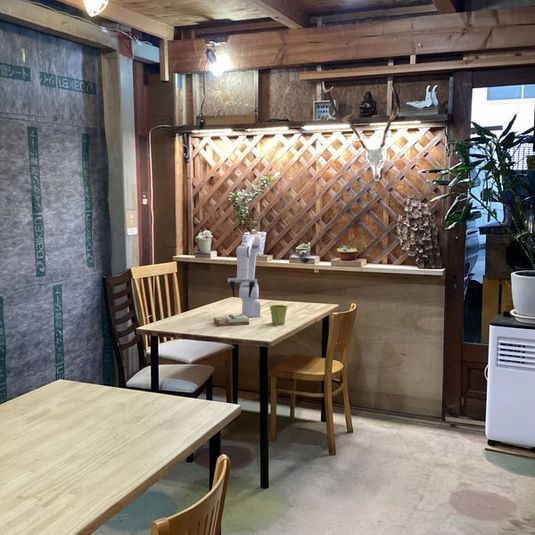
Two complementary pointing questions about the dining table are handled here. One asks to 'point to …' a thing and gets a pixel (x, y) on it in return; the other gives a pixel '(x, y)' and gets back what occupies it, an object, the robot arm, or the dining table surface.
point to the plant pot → (278, 313)
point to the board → (224, 322)
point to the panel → (237, 319)
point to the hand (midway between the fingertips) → (241, 297)
